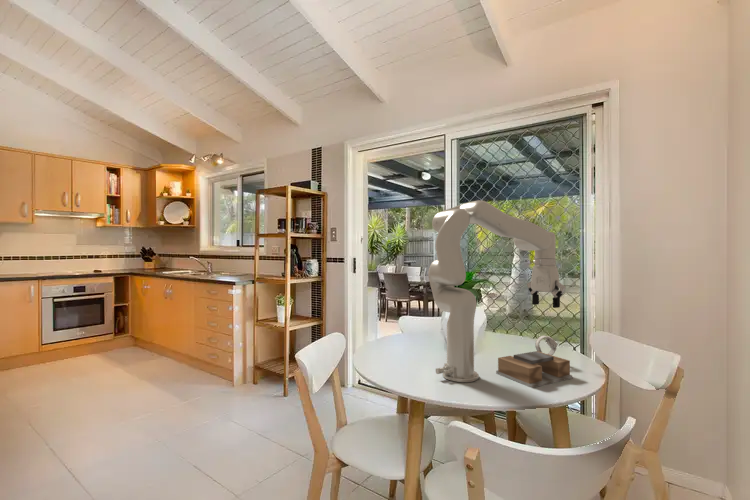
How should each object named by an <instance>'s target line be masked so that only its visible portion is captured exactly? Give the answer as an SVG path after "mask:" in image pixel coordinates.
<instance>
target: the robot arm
mask: <svg viewBox="0 0 750 500" xmlns="http://www.w3.org/2000/svg"><path fill="white" fill-rule="evenodd" d="M431 224H432V227H433V230H434V231H435V232H437V233H438V234H437V236H436V238H435V239H436V240H435V252H436V257H437V259H435V260H434V261H432V262H431V263H430V265H429V267H428V280H429V286H430V288H431V292H432V297H433V301H434V304H435V305H436V306H437V308H438V309H439V310H441V311H443V312H446V313H449V316H448V319H447V322H446V363H444V365H443V366H442V367H437V368H435V373H436V374H437V375H441V374H442V377H443V378H444V379H446V380H449V381H451V382H457V383H471V382H476V381H477V380H479V377H480V376H479V373H478V372H477V371H475V314H476V311H477V310H476V309H477V299H476V296H475V295H474V293H473V292H472V291H470V290H468V289H466V288H461V287H457V286H461V285H462V284H463V283H464V282H465V281H466V278H467V273H466V272H467V271H466V268H465V267H466V266H465V263H464V258H463V254H462V249H461V239H462V237H463V235H464V233H465V231H467V229H468V228H469V225H478V226H480V227H482V228H483V229H486V230H487V231H489V232H490V233H493V234H494V235H497V236H498V237H499V236H500V237H502V238H509V239H513V240H514V245H515V246H514V247H516V248H517V249H518V250H520V251H523V252H524V251H525V252H527V251H529V252H531V251H534V260H532V261H533V264H534V265H533V267H532V270H531V278H530V279H531V280H530V281H529V282H527V283H526V286H527V288H528V291H529V292H530V295H531V296H532V297H531V298H532V301H531V302H532V305H539V304H540V295H539V293H540V292H543V293H551V294H552V295H553V297H552V308H553V309H557V308H558V309H559V308H561V306H560V305H561V298H562V296H563V295H564V294H565V291H566V289H567V287H566V286H565V285H564V284H562V283H561V282H560V279H559V278H560V276H559V269H558V267H557V265H556V264H557V263H556V234H555V233H554V231H553V232H552V231H547V230H546V229H545V228H543V227H541V226H539V225H537V224H536V223H534V222H531V221H528V220H524V219H522V218H518V217H516V216H512V215H509V214H507V213H506V212H504V211H502V210H501V209H498V208H497V207H495V206H493V204H491V203H489V202H486V201H485V200H479V199H478V200H472V201H470V202H464V203H462V204H459V205H456V206H454V207H450V208H448V209H444V210H441V211H439V212H437V213H436V214H435V215H434V216H433V218H432V222H431ZM455 286H456V287H455Z"/></svg>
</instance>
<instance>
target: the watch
mask: <svg viewBox="0 0 750 500" xmlns="http://www.w3.org/2000/svg"><path fill="white" fill-rule="evenodd" d="M543 339H545V340H544V341H545V343H546V344H547V345H548V346H549V348H550V351H549V352H548V353H547V354H549V355H552V356H554V354H556V351H557V347H558V344H557V342H556V341H555V339H554V338H553V337H551V336H549V335H548V336H547V335H540V336H539V337H537V339H536V341H535V347H534V348H535V350H536V351H539V352H542V353H543V351H542V348H541V346H540V343H541V341H542V340H543Z"/></svg>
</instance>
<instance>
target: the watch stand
mask: <svg viewBox="0 0 750 500" xmlns="http://www.w3.org/2000/svg"><path fill="white" fill-rule="evenodd" d="M570 362H571V360H569V359H566V358H562V357H560V356H559V357H558V356H556V355H549V354H548V353H545V352H543V351H542V352H539V351H537V350H536V351H535V350H534V351H529V352H524V353H516V354H513V355H507V356H501V357H498V358H497V369H498V370H495V373H496V374H497V375H500V376H502V377H504V378H507V379H509V380H512V381H513V382H516V383H518V384H519V383H520V384H521V385H524V386H525V387H526V386H527V387H528V388H531V389H532V388H536V387H537V388H538V387H540V386H541V387H542V386H547V385H549V384H553V383H554V384H555V383H558V382H559V383H560V382H562V381H566V380H572V379H573V375H572V374H571V365H570V364H571V363H570Z"/></svg>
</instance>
